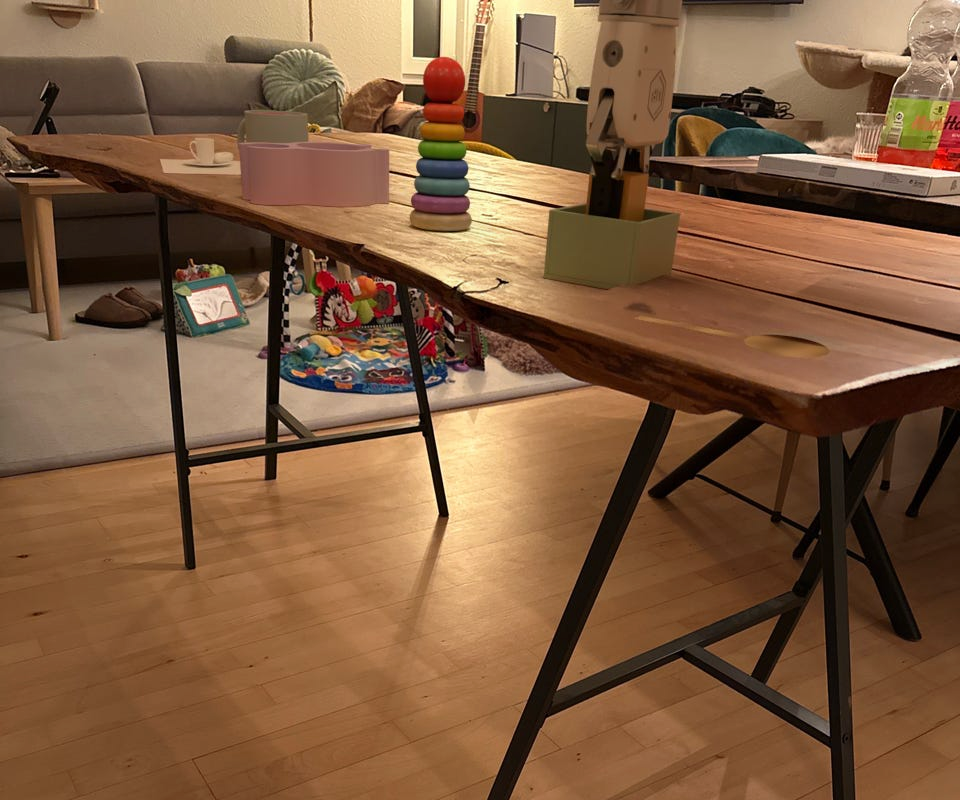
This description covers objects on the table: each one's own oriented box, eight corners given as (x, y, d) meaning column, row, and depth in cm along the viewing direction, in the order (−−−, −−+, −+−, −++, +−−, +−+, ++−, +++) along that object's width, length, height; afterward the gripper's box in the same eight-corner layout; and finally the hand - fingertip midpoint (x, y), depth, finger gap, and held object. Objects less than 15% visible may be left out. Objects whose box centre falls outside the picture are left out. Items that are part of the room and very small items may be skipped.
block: (643, 222, 99) (649, 173, 97) (624, 226, 96) (631, 176, 93) (603, 216, 101) (609, 168, 98) (584, 220, 97) (589, 171, 95)
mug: (322, 188, 149) (320, 115, 144) (276, 192, 143) (272, 115, 138) (264, 178, 156) (260, 107, 151) (217, 181, 150) (211, 107, 145)
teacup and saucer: (232, 163, 171) (230, 137, 168) (237, 168, 164) (235, 142, 162) (181, 162, 168) (178, 135, 166) (183, 167, 162) (181, 140, 160)
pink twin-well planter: (260, 207, 129) (257, 150, 125) (233, 194, 138) (229, 140, 134) (397, 206, 138) (397, 151, 134) (363, 193, 147) (363, 142, 143)
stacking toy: (484, 230, 124) (493, 59, 114) (437, 234, 119) (442, 57, 109) (443, 220, 128) (448, 56, 118) (396, 224, 123) (398, 53, 114)
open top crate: (670, 279, 103) (680, 213, 99) (631, 293, 95) (641, 223, 92) (586, 265, 107) (593, 201, 103) (543, 278, 100) (549, 209, 96)
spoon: (837, 354, 79) (839, 344, 79) (814, 372, 74) (816, 361, 74) (651, 319, 86) (652, 310, 86) (619, 333, 81) (620, 323, 81)
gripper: (640, 1, 81) (612, 234, 90) (711, 13, 93) (680, 216, 103) (561, -3, 84) (542, 223, 93) (640, 10, 96) (616, 207, 106)
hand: (614, 217), depth 98 cm, fingers closed on block, 4 cm apart
